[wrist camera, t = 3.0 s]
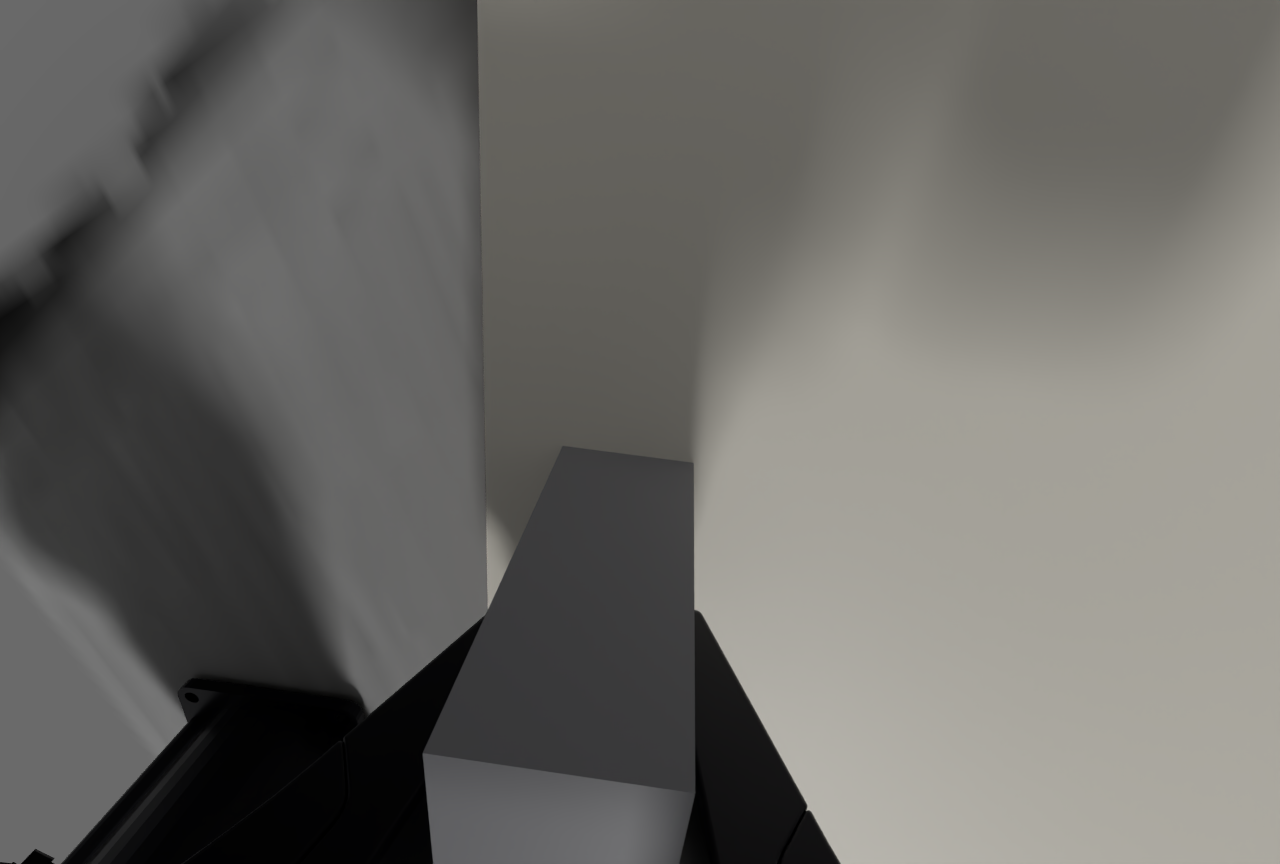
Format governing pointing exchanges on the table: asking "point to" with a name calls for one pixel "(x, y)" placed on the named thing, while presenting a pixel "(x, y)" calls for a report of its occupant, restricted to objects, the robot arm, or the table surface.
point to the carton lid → (879, 426)
